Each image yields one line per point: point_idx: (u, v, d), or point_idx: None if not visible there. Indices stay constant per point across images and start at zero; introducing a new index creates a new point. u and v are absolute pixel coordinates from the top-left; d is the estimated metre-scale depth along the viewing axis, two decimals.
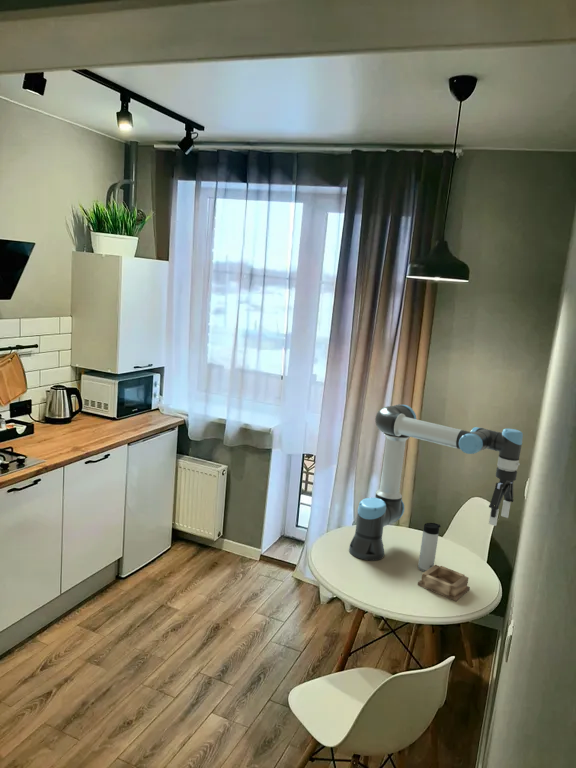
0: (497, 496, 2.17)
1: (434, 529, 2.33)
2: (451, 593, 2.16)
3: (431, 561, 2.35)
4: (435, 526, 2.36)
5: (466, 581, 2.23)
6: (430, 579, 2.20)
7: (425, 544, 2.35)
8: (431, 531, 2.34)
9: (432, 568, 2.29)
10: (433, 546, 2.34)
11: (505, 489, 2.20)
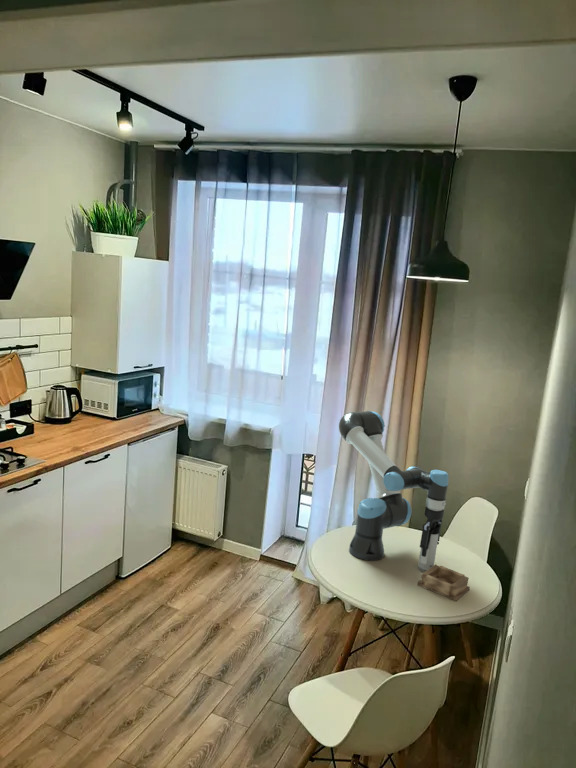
0: (425, 537, 2.31)
1: (434, 529, 2.33)
2: (451, 593, 2.16)
3: (431, 560, 2.35)
4: None
5: (466, 581, 2.23)
6: (430, 579, 2.20)
7: None
8: None
9: (432, 568, 2.29)
10: (433, 546, 2.34)
11: None
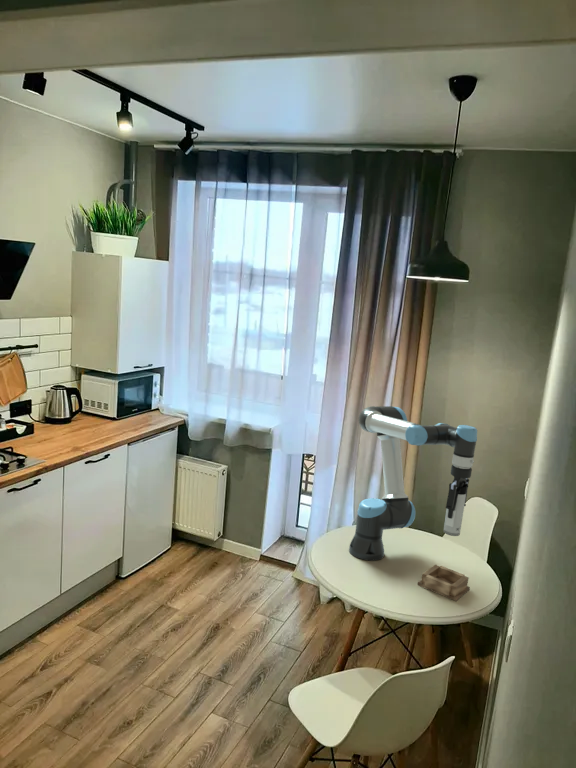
0: (452, 497, 2.14)
1: (462, 489, 2.16)
2: (451, 593, 2.16)
3: (458, 523, 2.18)
4: None
5: (466, 581, 2.23)
6: (430, 579, 2.20)
7: None
8: None
9: (432, 568, 2.29)
10: (460, 507, 2.17)
11: None
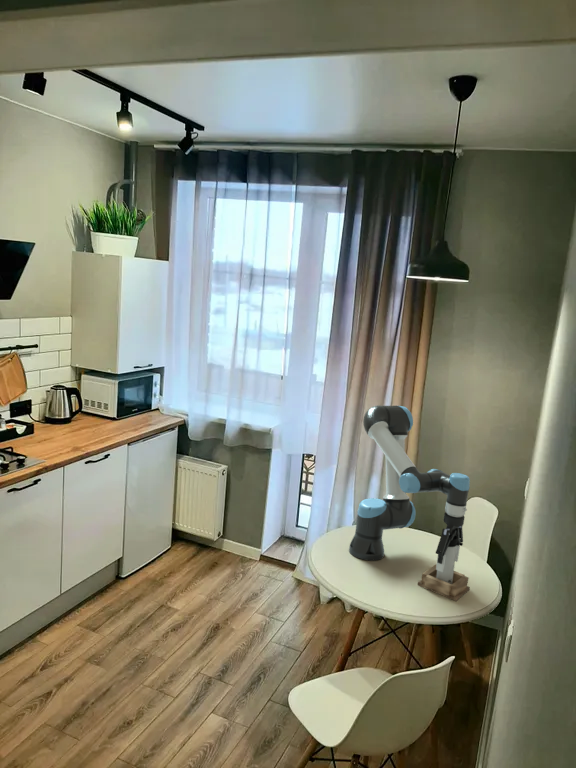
0: (443, 542, 2.15)
1: (452, 541, 2.19)
2: (451, 593, 2.16)
3: (449, 575, 2.21)
4: None
5: (466, 581, 2.23)
6: (430, 579, 2.20)
7: None
8: None
9: (432, 568, 2.29)
10: (451, 559, 2.20)
11: (452, 535, 2.18)
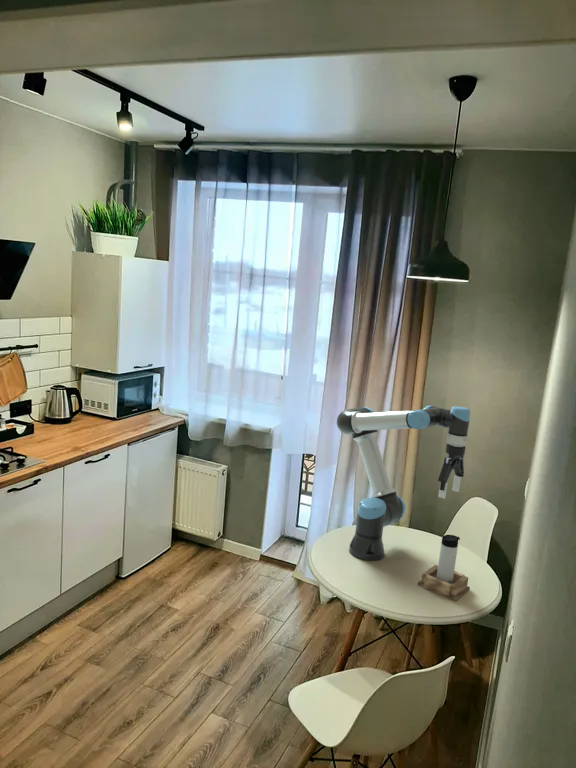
0: (445, 470, 2.28)
1: (453, 542, 2.19)
2: (451, 593, 2.16)
3: (449, 575, 2.21)
4: (454, 538, 2.22)
5: (466, 581, 2.23)
6: (430, 579, 2.20)
7: (443, 558, 2.21)
8: (450, 544, 2.19)
9: (432, 568, 2.29)
10: (452, 560, 2.20)
11: (454, 464, 2.31)
